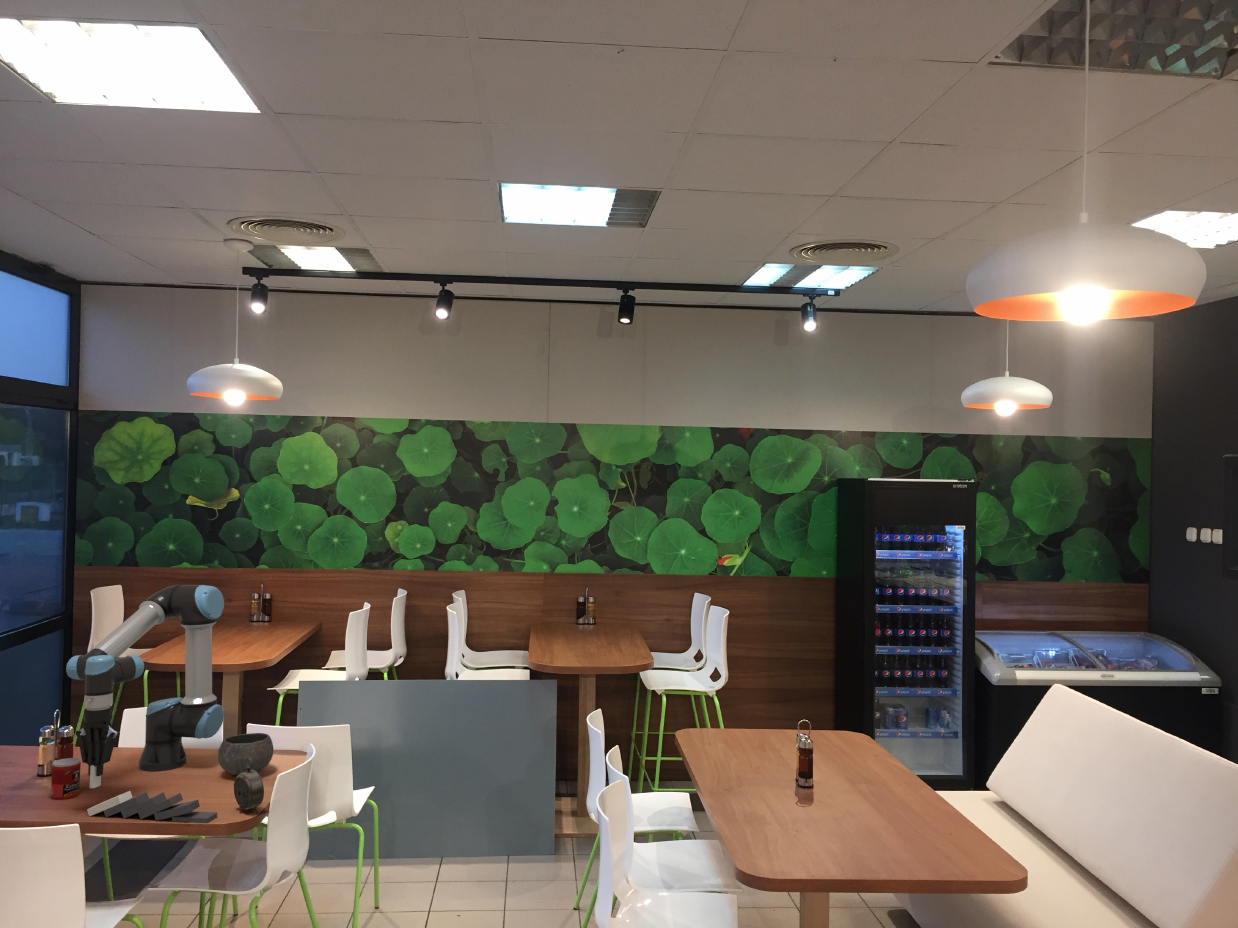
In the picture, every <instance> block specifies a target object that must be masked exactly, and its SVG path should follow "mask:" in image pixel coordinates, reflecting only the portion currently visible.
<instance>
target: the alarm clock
mask: <svg viewBox="0 0 1238 928" xmlns="http://www.w3.org/2000/svg"><path fill="white" fill-rule="evenodd" d="M247 759H250V761H251V767H252V760H251V758H247ZM247 759H246V761H247ZM246 767H247V764H246ZM251 767H247V771H246V772H243V773H240V774H239V775H238V776H235V779H234V783H233V793H234V794H233V796H234V798H235V800H236V803H237V804H238V806H239V807H240V810H239V814H241V813H242V811H243V810H246V811H247V810H251V809H254V810H255V814H257V815H258V814H259V811H258V807H260V806H261V804H262V803H263V801H264V798H265V797H264V796H265V788H264V783H263V782H264V781H263V780H262V778H261V775H260V773H259V772H256V771H255V770H250V768H251Z"/></svg>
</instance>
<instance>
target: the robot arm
mask: <svg viewBox="0 0 1238 928" xmlns="http://www.w3.org/2000/svg"><path fill="white" fill-rule="evenodd" d="M224 599H225V598H224V596H223V594H222V592H221V591H220V590H219V588H217V587H216V586H214V585H213V586H212V585H205V584H174V585H173V584H172V585H170V586H166V587H164V588H162V589H160V590H158V591H157V592H155V593H153V594H152V595H150V596H149V597H147V598H146V599H145V600H143V601H142V602H141V604H139V606H138V610H136V611H135V612H134V613H133V614H131V616H129V617H128V618H127V619H126V620H124V622H122V623H121V624H120V625H119V626H117V627H116V628H115V629H114V630H112V632H110V633H109V634H108V635H107V636H106V637H105V638H103V639H102V640H101V641H100V642H98V643H97V644H96V645H95V646H94V647H93V648H92V649H91V650H89V651H88V652H87V653H86V654H84V655H83V654H79V655H74V656H72V657H71V658H70V659H68V662H67V663H66V669H65V670H66V671H65V673H66V674H67V676H68V677H69V678H70V679H73V680H77V681H78V680H79V681H84V698H83V699H84V701H83V708H84V710H83V719H82V720H83V722H84V723H83V726H82V728H81V729H79V730H76V731H75V735H76V737H77V741H78V745H79V750H80V757H81V762H82V763H83V764H87V766H88V771H87V775H88V776H89V789H96V788H97V787H100V786H101V785H102V776H103V774H104V764H107V763H109V762H110V761H111V758H112V755H113V751H114V747H115V742H116V740H117V739H116V738H117V737H118V736H119V734H120V731H119V730H114V729H113V726H112V723H111V721H112V718H113V707H112V706H113V703H114V685H117V684H121V683H125V682H131V681H133V680H135V679H138V678H140V677H141V676H142V674H143V673H144V670H145V663H144V661H143V659H142V658H141V657H140V656H138V655H127V656H124V657H121V656H122V654H124V653H125V652H126V651H128V649H130V647H132V646H133V645H134V644H135V643H136V642H137V641H138V640H140V639H141V638H142V637H143V636H144V635H145V634H147V633H148V631H150V630H151V629H152V628H154V626H155V625H160V624H162V623H163V622H164V621H165V620H167V619H171V618H173V619H174V618H175V619H176V618H179V619H180V626H182V628H184V631H185V641H184V642H185V645H184V647H185V653H184V656H185V660H184V661H185V672H184V673H185V675H184V677H185V683H184V685H185V696H184V697H169V698H165V699H160V700H156V701H152V702H150V703H149V704H147V707H146V711H145V712H146V713H145V714H146V715H145V739H144V741H145V743H144V747H143V749H142V752H141V756H140V758H139V760H138V769H139V770H141V771H146V772H160V771H168V770H172V769H177V768H180V767H183V766H184V765H185V764H187V754H186V751H185V748H184V745H183V741H182V738H192V739H198V740H199V739H200V740H201V739H210V738H212V737H215V735H217V733H218V732H219V730H220V729H221V727H222V725H223V723H224V720H225V709H224V708H223V706H222V705H220V704H218V702H217V701H218V699H217V698H218V697H217V696H216V695H215V694H214V693H213V627H214V626H215V624H216V623H217V622H218V621H217V619H219V617H220V616H221V615H222V614H223V611H224V609H225V608H224V607H225V600H224ZM221 617H222V616H221Z"/></svg>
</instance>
